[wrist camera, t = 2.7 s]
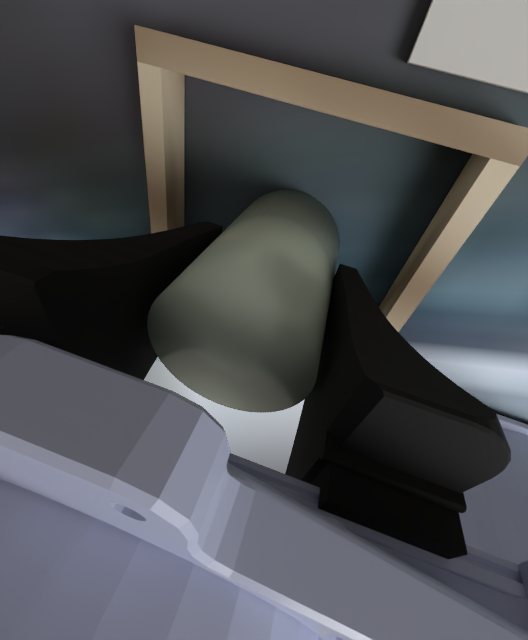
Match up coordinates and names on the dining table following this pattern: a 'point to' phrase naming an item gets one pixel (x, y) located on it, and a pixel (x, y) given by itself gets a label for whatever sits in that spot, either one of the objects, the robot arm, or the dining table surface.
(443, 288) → the dining table surface
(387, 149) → the dining table surface
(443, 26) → the mat
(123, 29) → the dining table surface
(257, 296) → the pale green capsule
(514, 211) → the dining table surface
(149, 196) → the holder
